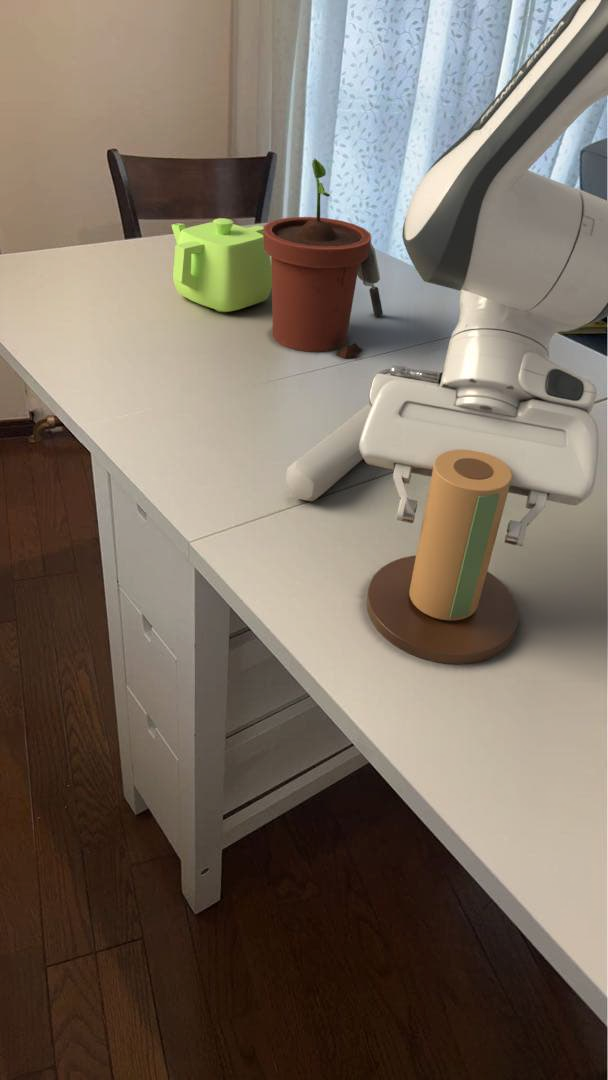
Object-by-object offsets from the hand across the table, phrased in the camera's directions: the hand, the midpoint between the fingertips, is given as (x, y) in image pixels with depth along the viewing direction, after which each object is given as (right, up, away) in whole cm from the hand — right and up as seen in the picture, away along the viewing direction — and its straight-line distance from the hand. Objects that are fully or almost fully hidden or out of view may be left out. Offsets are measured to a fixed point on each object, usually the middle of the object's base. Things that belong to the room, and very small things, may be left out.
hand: (458, 532), depth 69 cm
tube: (-8, +9, +27) cm, 30 cm away
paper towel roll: (0, -6, +5) cm, 8 cm away
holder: (0, -7, +6) cm, 9 cm away
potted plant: (-10, +32, +57) cm, 66 cm away
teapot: (-29, +41, +67) cm, 84 cm away
